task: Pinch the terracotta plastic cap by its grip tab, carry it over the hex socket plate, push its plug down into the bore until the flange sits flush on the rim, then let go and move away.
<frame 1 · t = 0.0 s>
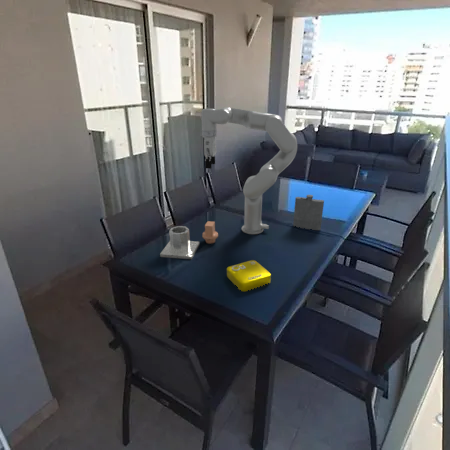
hand: (210, 166, 174), 37 cm above the table, tool pointing down, fingers open, 9 cm apart
hip flask: (306, 227, 187), on the table
hex socket plate: (180, 250, 164), on the table
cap: (210, 241, 172), on the table
element tile: (248, 279, 140), on the table
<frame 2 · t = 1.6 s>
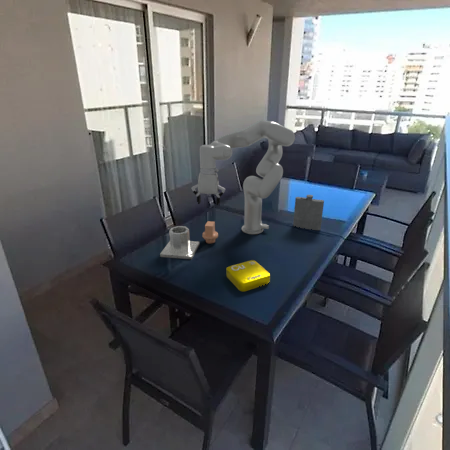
hand: (208, 203, 163), 22 cm above the table, tool pointing down, fingers open, 9 cm apart
nothing on the table moved.
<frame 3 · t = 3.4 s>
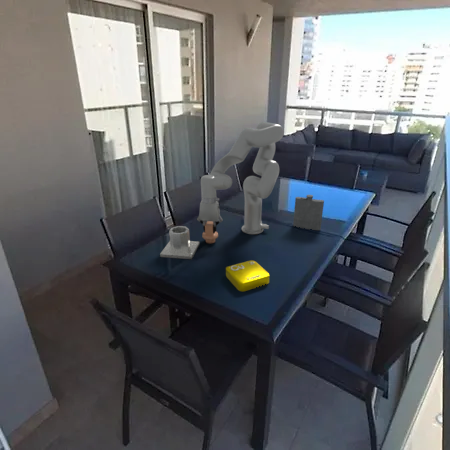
hand: (210, 231, 170), 6 cm above the table, tool pointing down, fingers closed on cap, 4 cm apart
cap: (210, 241, 172), on the table, touching gripper
everything else where it was.
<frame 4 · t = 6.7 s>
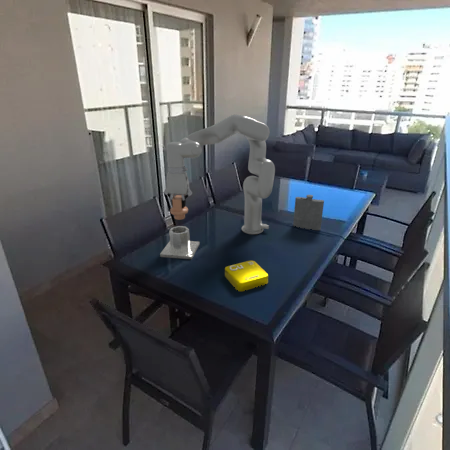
hand: (178, 206, 154), 24 cm above the table, tool pointing down, fingers closed on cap, 4 cm apart
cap: (179, 217, 157), point 18 cm above the table, touching gripper
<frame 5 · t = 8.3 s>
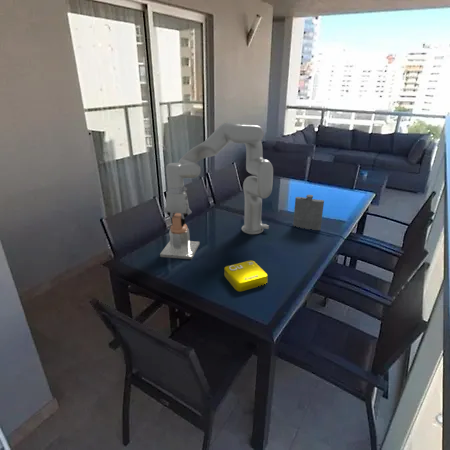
hand: (178, 224, 158), 14 cm above the table, tool pointing down, fingers closed on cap, 4 cm apart
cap: (179, 234, 161), point 9 cm above the table, touching gripper, hex socket plate
when the fingers open (14 cm above the table, at t = 9.6 s): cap stays where it is, resting on hex socket plate.
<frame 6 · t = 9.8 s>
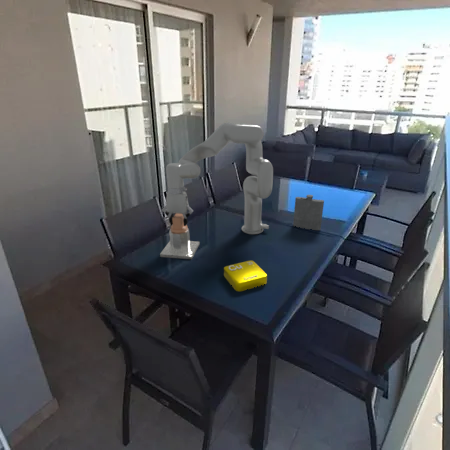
hand: (178, 224, 158), 15 cm above the table, tool pointing down, fingers open, 6 cm apart
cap: (179, 235, 160), point 8 cm above the table, touching hex socket plate
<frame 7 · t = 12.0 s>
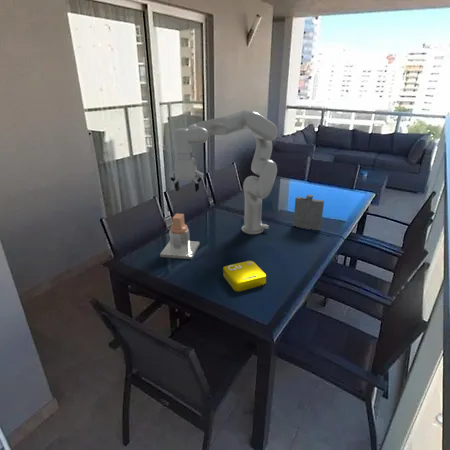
hand: (187, 190, 157), 30 cm above the table, tool pointing down, fingers open, 9 cm apart
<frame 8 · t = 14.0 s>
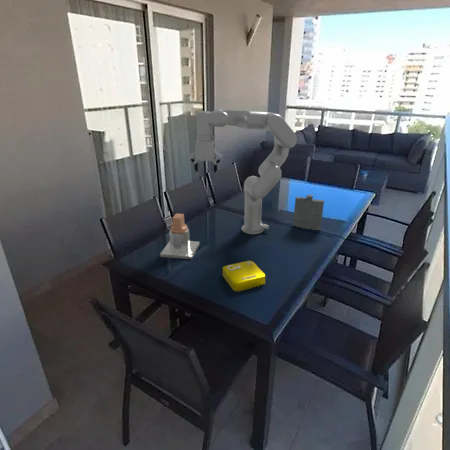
hand: (206, 171, 165), 36 cm above the table, tool pointing down, fingers open, 9 cm apart
at the end: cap 0.2 cm off-centre on the hex socket plate, point 8.5 cm above the hex socket plate's base; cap tilted 0°; the gripper is holding nothing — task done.
